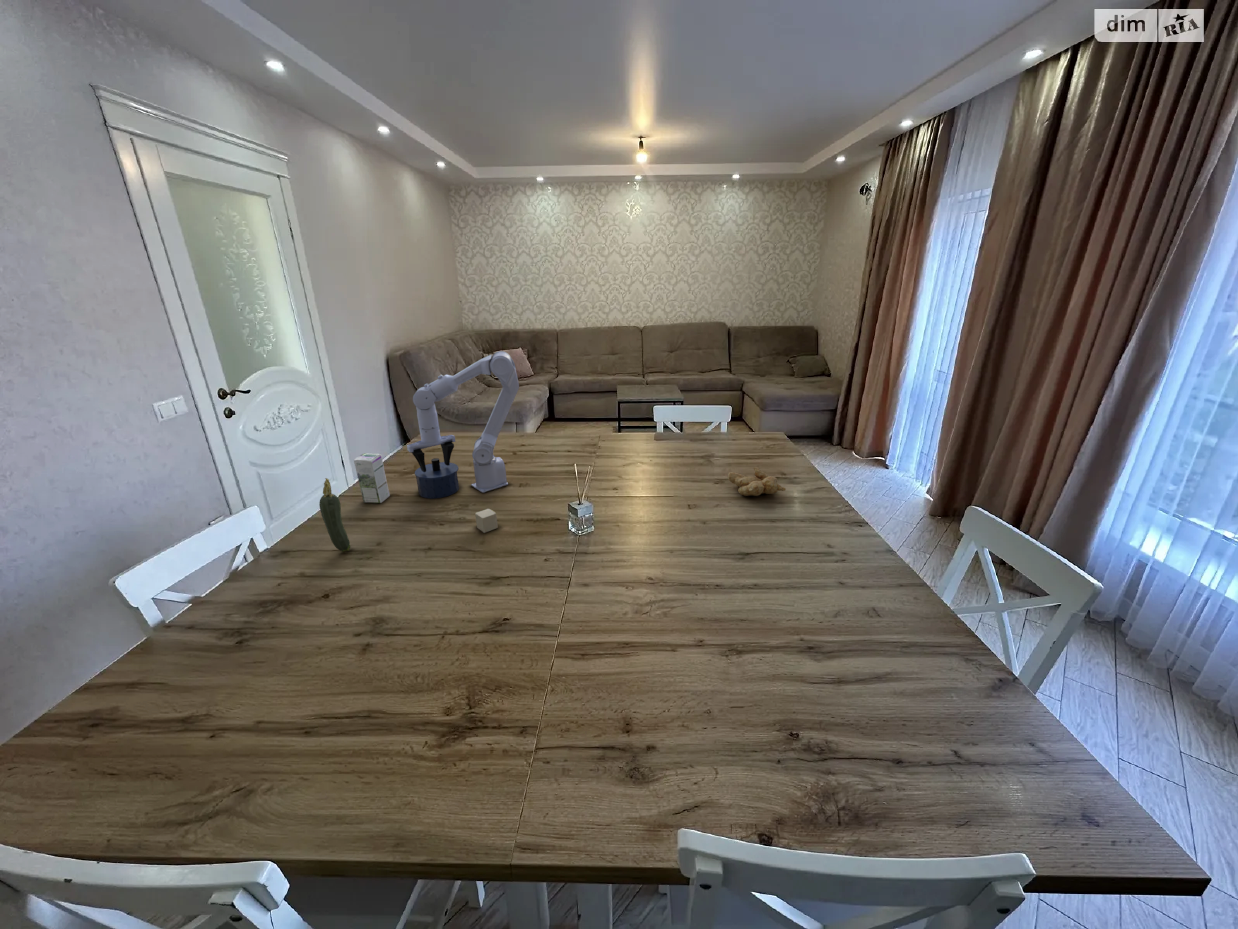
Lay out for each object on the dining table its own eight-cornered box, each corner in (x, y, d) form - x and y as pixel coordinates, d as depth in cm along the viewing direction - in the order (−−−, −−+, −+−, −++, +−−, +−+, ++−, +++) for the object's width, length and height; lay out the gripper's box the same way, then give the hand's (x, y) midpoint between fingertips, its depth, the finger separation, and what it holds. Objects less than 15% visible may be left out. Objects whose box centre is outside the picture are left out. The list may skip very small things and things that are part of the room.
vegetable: (343, 558, 119) (324, 484, 112) (328, 556, 120) (308, 483, 113) (355, 548, 123) (338, 477, 116) (340, 547, 124) (322, 475, 117)
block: (490, 522, 136) (488, 508, 134) (498, 527, 133) (496, 513, 132) (476, 527, 133) (474, 513, 132) (484, 533, 131) (482, 518, 129)
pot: (448, 479, 164) (446, 461, 162) (465, 490, 156) (463, 472, 154) (413, 490, 157) (409, 471, 154) (428, 502, 148) (425, 482, 146)
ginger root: (791, 499, 145) (787, 475, 142) (738, 511, 147) (734, 487, 144) (776, 480, 160) (773, 458, 157) (729, 491, 161) (724, 469, 159)
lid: (449, 462, 163) (447, 449, 162) (465, 473, 154) (463, 460, 152) (409, 472, 155) (406, 458, 154) (423, 484, 146) (421, 470, 144)
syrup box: (390, 495, 153) (382, 452, 147) (380, 504, 147) (370, 459, 142) (373, 495, 153) (364, 452, 148) (362, 503, 148) (352, 459, 142)
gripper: (445, 419, 156) (451, 458, 161) (400, 429, 146) (407, 470, 151) (455, 424, 151) (461, 464, 156) (409, 434, 142) (416, 476, 147)
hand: (435, 467), depth 153 cm, fingers open, 7 cm apart
